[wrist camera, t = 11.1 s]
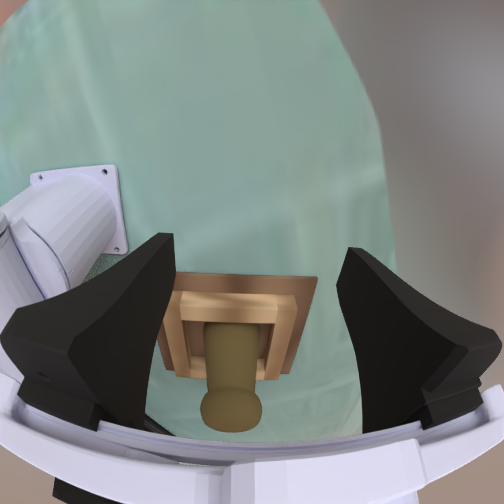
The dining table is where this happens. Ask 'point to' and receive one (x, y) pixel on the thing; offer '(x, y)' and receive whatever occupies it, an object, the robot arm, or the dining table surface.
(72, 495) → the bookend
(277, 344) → the socket block
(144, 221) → the dining table surface
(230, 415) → the cork
